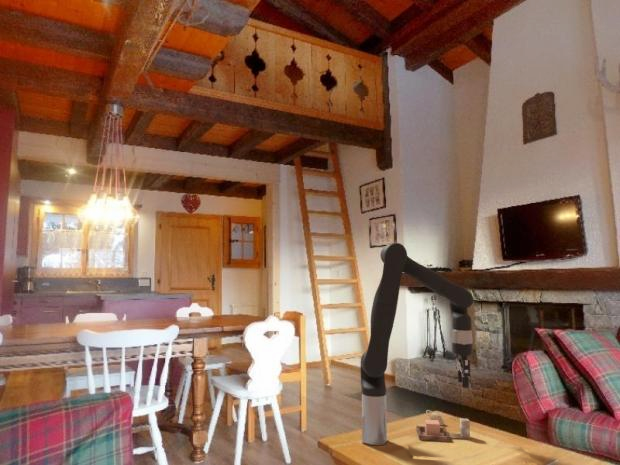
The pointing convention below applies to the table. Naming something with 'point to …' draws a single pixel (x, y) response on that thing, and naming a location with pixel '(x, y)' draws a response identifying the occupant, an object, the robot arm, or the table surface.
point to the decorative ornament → (435, 417)
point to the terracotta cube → (432, 427)
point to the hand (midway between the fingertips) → (463, 384)
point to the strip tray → (446, 433)
